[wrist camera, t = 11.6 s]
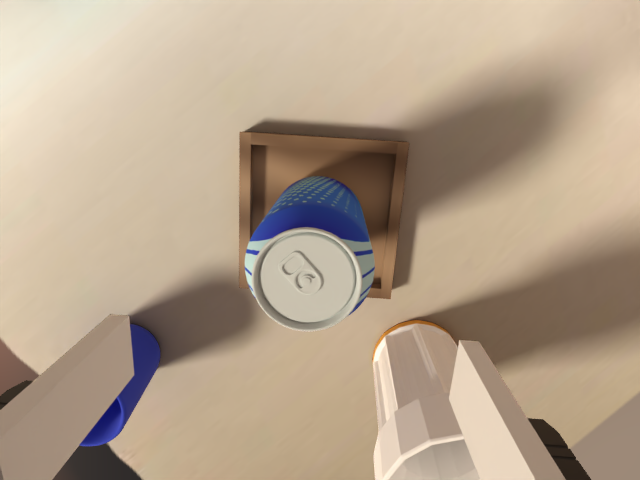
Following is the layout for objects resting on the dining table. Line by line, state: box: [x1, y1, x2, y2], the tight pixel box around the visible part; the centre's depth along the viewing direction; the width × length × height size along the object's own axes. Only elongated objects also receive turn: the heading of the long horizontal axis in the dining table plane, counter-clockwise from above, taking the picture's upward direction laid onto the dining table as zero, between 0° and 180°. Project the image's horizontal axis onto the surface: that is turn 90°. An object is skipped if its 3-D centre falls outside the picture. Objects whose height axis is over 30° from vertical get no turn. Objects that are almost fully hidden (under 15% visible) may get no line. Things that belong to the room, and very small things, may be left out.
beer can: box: [245, 176, 375, 331], centre depth 32 cm, size 8×8×16 cm
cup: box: [372, 320, 480, 480], centre depth 36 cm, size 11×11×17 cm
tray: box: [239, 131, 409, 299], centre depth 39 cm, size 15×15×2 cm
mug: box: [80, 324, 160, 446], centre depth 40 cm, size 8×12×10 cm
